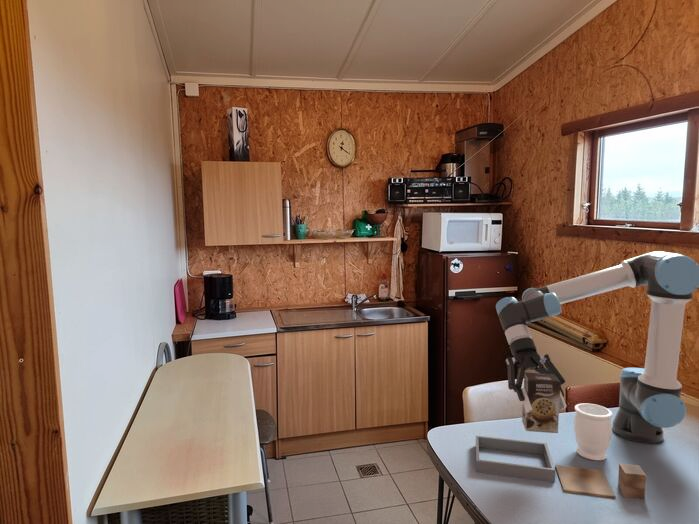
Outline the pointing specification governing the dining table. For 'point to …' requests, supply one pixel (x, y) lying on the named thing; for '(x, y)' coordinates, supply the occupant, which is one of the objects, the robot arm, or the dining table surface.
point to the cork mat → (584, 481)
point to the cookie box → (542, 402)
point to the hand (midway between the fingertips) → (546, 409)
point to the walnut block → (631, 481)
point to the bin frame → (515, 469)
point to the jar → (592, 430)
